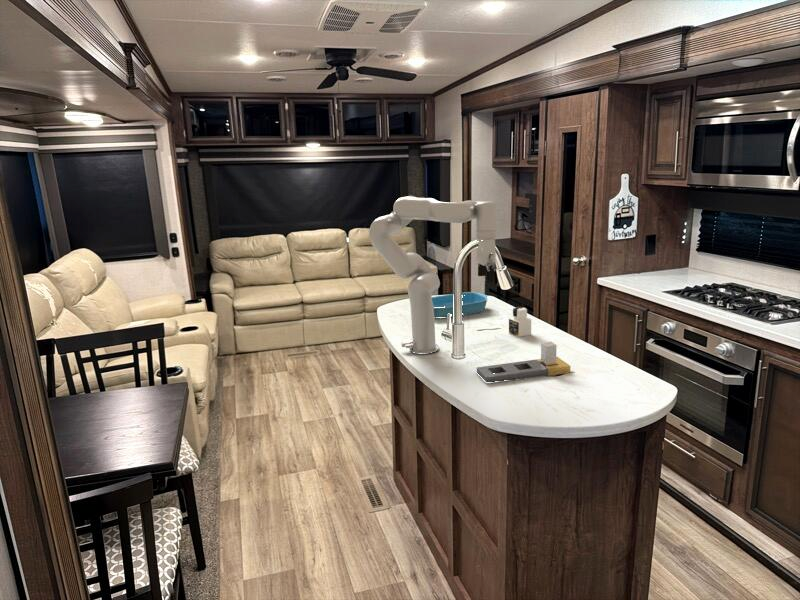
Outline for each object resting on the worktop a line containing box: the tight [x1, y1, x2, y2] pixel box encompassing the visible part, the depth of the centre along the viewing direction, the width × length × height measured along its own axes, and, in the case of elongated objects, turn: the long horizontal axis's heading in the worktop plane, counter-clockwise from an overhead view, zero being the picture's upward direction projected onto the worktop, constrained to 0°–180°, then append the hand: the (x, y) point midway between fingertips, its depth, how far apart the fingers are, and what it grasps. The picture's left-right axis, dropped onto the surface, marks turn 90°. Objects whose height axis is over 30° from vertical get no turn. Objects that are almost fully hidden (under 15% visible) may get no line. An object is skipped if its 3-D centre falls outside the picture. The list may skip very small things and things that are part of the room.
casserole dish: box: [431, 291, 488, 318], centre depth 282 cm, size 37×22×7 cm, turn 108°
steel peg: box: [540, 341, 557, 367], centre depth 200 cm, size 4×4×10 cm
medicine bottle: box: [508, 306, 532, 338], centre depth 241 cm, size 7×7×12 cm
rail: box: [476, 356, 571, 382], centre depth 199 cm, size 32×10×2 cm, turn 101°
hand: (486, 278), depth 211 cm, fingers open, 9 cm apart
